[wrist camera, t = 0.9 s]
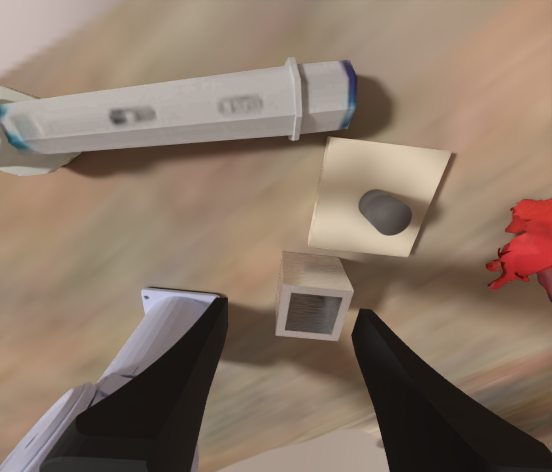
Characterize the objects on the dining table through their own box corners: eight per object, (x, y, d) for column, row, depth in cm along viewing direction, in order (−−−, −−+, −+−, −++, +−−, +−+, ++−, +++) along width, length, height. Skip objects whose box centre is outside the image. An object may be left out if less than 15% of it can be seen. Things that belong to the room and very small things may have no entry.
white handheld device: (356, 142, 14) (-92, 194, 12) (322, 139, 20) (20, 174, 18) (361, 33, 12) (-185, 77, 10) (322, 67, 18) (-22, 98, 16)
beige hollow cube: (326, 301, 24) (337, 341, 19) (276, 296, 24) (275, 335, 19) (338, 257, 22) (354, 291, 17) (282, 251, 21) (283, 284, 17)
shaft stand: (402, 251, 21) (431, 280, 17) (307, 241, 21) (314, 268, 17) (443, 150, 17) (493, 156, 13) (327, 136, 17) (342, 138, 13)
